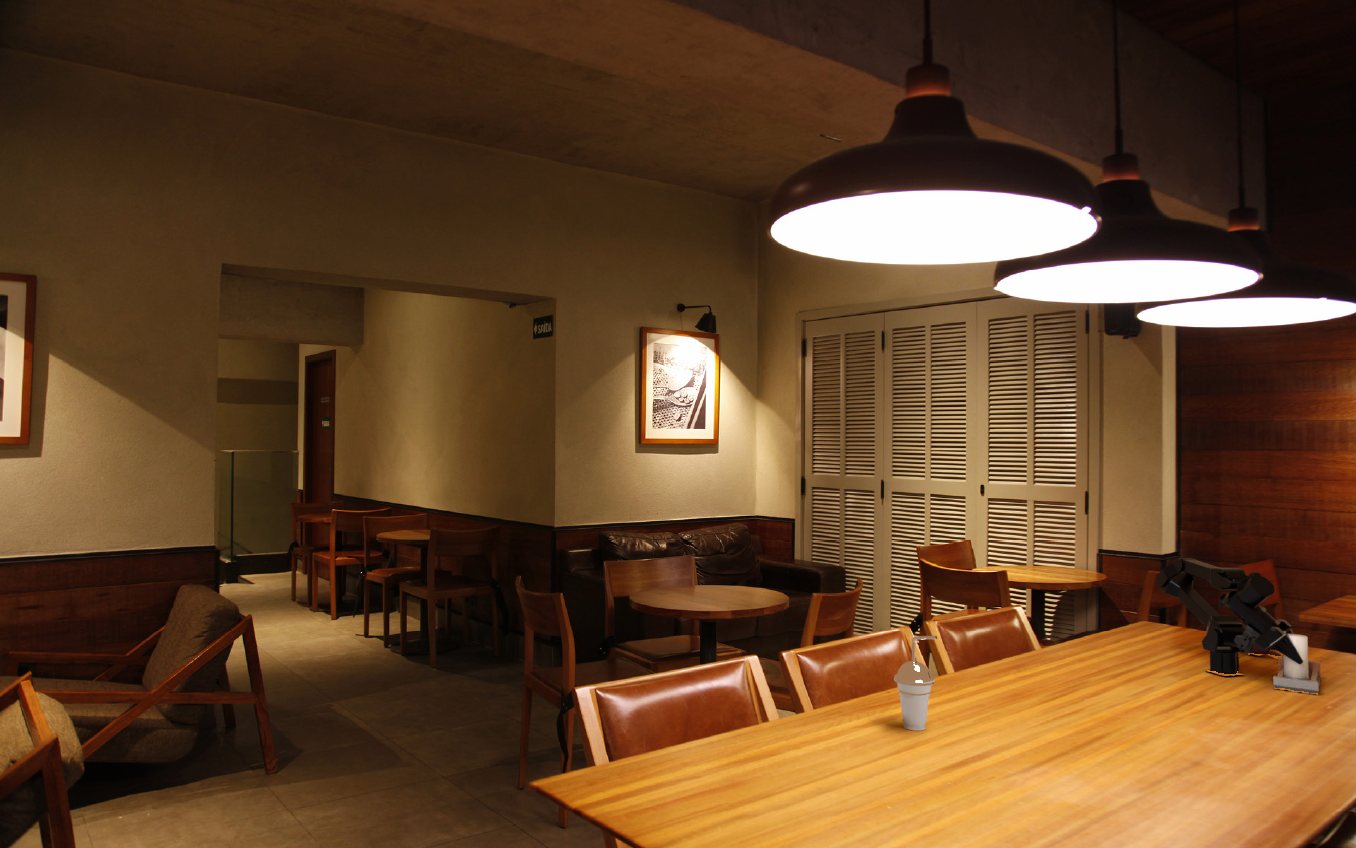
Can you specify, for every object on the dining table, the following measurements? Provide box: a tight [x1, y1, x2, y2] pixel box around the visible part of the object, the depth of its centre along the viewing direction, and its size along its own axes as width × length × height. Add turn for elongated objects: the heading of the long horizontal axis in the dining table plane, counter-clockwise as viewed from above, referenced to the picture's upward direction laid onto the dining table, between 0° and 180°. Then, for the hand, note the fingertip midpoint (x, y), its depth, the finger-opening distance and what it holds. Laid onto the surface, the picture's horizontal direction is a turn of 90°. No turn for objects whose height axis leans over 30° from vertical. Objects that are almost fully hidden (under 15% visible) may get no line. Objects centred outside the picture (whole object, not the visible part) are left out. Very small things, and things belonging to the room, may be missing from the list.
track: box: [1272, 656, 1322, 693], centre depth 221 cm, size 21×9×4 cm, turn 142°
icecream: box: [1250, 642, 1282, 656], centre depth 254 cm, size 7×7×15 cm
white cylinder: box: [1283, 633, 1309, 680], centre depth 217 cm, size 5×5×12 cm
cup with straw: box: [893, 635, 938, 732], centre depth 183 cm, size 8×9×20 cm
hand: (1302, 661), depth 216 cm, fingers closed on white cylinder, 5 cm apart
